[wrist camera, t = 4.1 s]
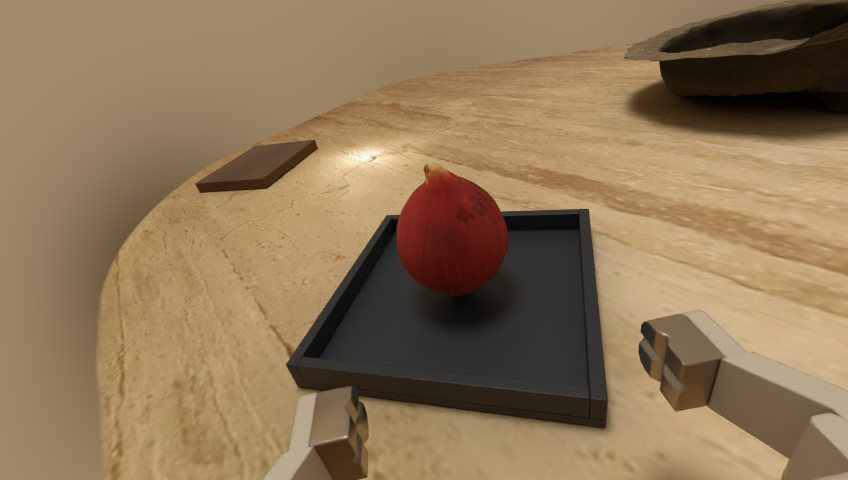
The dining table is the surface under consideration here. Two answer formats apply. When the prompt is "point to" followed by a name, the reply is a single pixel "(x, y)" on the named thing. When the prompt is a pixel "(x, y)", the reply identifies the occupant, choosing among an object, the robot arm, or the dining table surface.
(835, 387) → the robot arm
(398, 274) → the tray
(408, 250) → the onion
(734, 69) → the stone bowl
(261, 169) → the board
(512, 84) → the dining table surface
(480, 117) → the dining table surface
